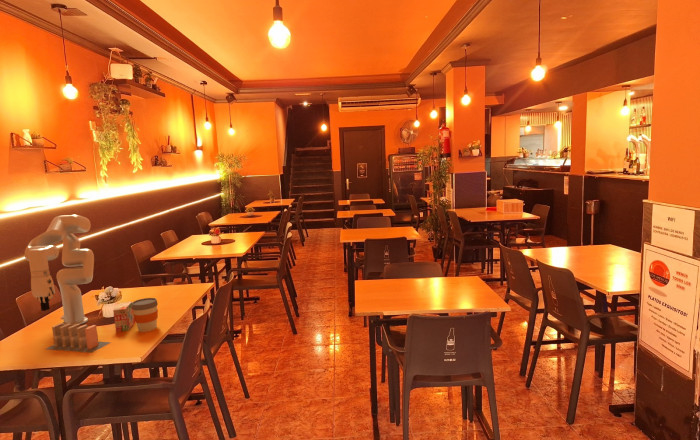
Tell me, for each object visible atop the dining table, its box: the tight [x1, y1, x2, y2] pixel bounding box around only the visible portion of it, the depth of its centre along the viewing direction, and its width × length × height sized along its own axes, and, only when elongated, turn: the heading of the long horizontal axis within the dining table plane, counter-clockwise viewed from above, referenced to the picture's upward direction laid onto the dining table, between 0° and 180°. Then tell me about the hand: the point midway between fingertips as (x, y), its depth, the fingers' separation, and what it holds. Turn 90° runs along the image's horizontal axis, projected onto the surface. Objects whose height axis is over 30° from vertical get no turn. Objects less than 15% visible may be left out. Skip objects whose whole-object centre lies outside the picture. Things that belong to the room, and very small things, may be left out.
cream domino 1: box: [51, 322, 64, 347], centre depth 228 cm, size 2×5×10 cm, turn 165°
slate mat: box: [45, 341, 112, 354], centre depth 226 cm, size 28×12×1 cm, turn 74°
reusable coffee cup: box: [131, 297, 159, 333], centre depth 244 cm, size 12×12×15 cm
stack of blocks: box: [112, 301, 136, 332], centre depth 253 cm, size 21×6×12 cm, turn 11°
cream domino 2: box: [60, 324, 72, 347], centre depth 227 cm, size 2×5×10 cm, turn 165°
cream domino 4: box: [77, 324, 89, 348], centre depth 224 cm, size 2×5×10 cm, turn 165°
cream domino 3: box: [68, 324, 81, 348], centre depth 225 cm, size 2×5×10 cm, turn 165°
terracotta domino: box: [85, 324, 99, 349], centre depth 223 cm, size 2×5×10 cm, turn 164°
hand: (45, 309), depth 228 cm, fingers closed
